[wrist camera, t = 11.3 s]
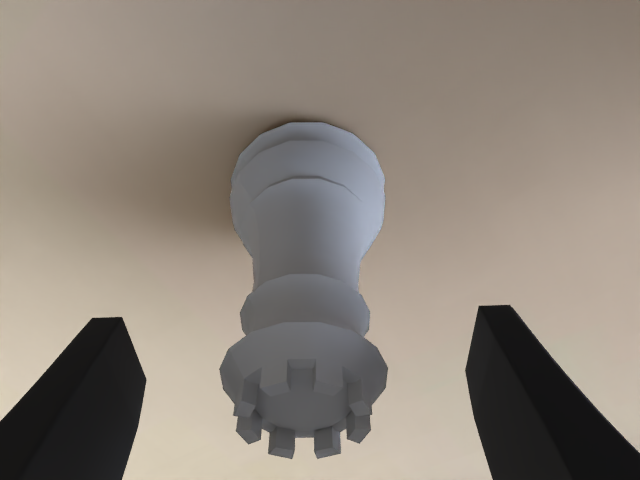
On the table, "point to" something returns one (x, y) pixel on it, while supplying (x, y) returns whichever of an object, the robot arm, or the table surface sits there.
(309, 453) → the table surface
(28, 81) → the table surface
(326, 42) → the table surface
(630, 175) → the table surface
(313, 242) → the rook chess piece
